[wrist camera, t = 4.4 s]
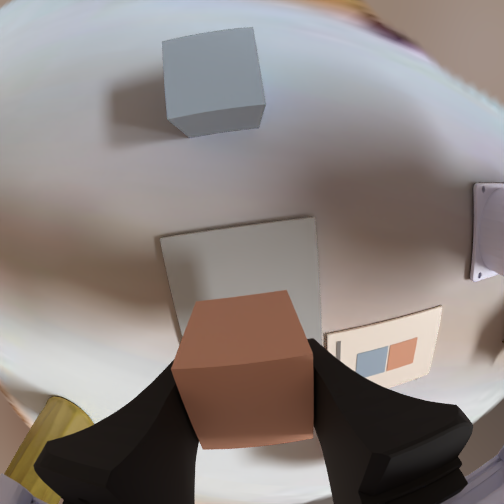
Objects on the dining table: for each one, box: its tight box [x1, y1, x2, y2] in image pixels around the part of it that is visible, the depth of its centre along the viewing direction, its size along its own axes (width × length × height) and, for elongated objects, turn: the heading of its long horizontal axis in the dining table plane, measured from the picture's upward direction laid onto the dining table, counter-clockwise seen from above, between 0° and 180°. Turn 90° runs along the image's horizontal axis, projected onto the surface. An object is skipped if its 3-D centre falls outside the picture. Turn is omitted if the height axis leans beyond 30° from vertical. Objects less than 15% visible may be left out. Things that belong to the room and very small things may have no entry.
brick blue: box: [162, 27, 266, 138], centre depth 12 cm, size 4×4×5 cm
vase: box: [4, 397, 94, 504], centre depth 13 cm, size 6×6×14 cm
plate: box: [160, 217, 322, 345], centre depth 17 cm, size 9×9×1 cm
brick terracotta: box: [171, 290, 314, 449], centre depth 10 cm, size 4×4×5 cm
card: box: [327, 306, 443, 389], centre depth 19 cm, size 10×7×1 cm
